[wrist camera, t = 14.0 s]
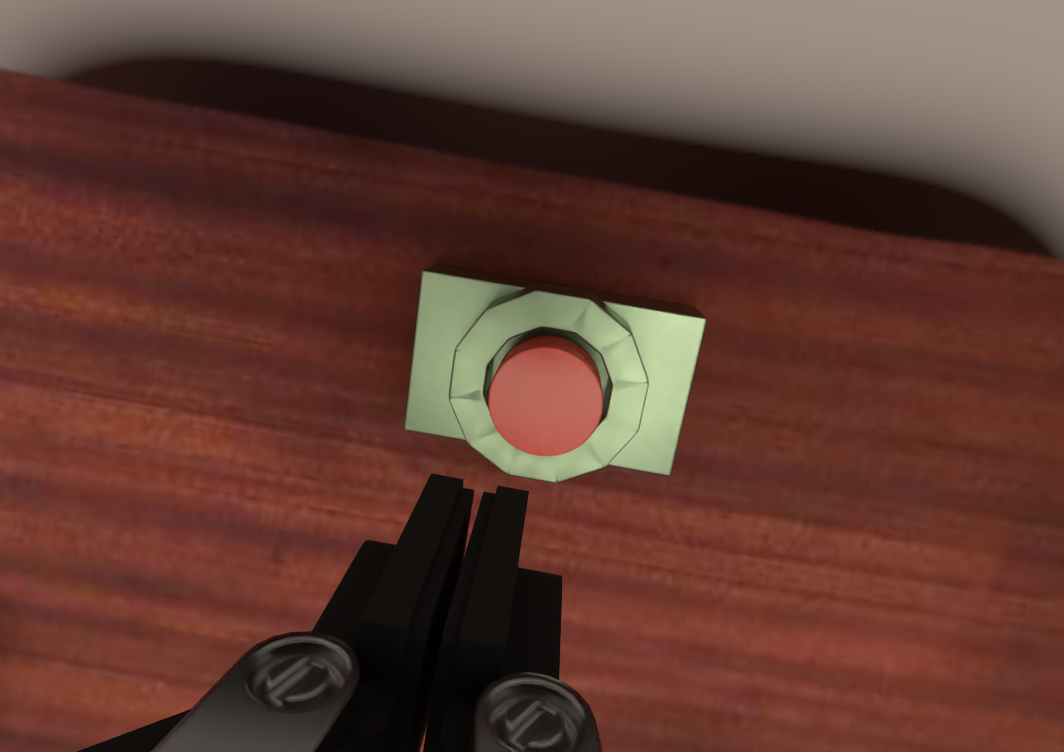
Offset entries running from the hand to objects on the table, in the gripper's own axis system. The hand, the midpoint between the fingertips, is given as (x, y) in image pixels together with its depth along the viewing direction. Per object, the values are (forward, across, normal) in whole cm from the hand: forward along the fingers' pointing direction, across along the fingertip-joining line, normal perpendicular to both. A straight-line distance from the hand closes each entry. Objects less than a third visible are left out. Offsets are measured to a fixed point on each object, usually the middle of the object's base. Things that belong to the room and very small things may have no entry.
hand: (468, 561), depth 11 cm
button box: (+15, -1, 0) cm, 15 cm away
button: (+12, -1, 0) cm, 12 cm away
